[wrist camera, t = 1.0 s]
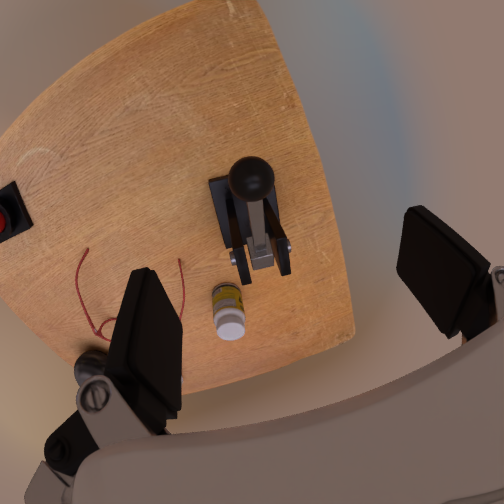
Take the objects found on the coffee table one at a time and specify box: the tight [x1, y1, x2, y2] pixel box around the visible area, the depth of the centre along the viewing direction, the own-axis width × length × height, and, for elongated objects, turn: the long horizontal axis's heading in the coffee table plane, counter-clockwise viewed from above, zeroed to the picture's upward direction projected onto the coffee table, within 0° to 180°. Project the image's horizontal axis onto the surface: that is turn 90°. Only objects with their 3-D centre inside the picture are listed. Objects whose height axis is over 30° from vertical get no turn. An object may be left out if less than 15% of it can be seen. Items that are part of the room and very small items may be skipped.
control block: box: [0, 181, 33, 243], centre depth 28 cm, size 10×8×3 cm
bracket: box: [209, 175, 291, 285], centre depth 31 cm, size 10×8×13 cm
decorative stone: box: [74, 351, 107, 386], centre depth 45 cm, size 10×10×10 cm
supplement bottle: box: [212, 283, 245, 340], centre depth 40 cm, size 5×5×8 cm
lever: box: [228, 156, 275, 270], centre depth 22 cm, size 14×3×3 cm, turn 11°
